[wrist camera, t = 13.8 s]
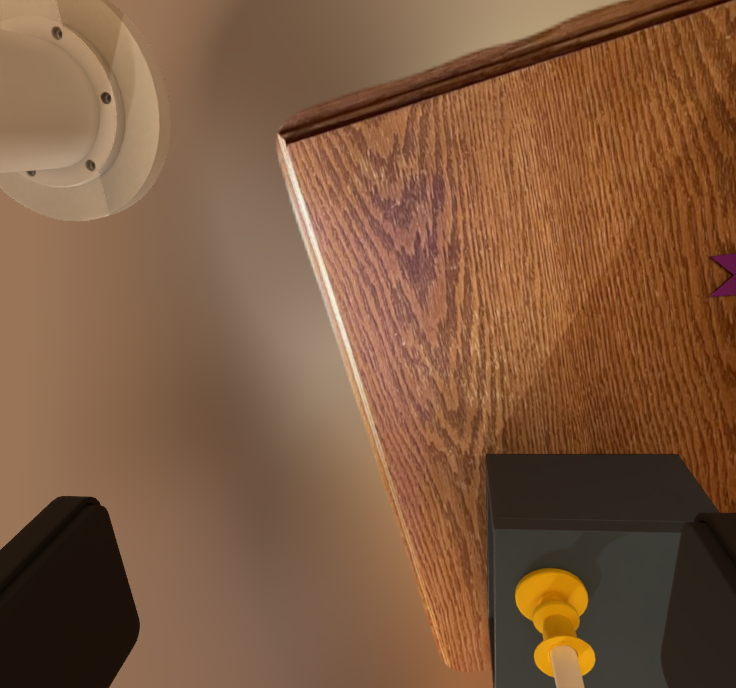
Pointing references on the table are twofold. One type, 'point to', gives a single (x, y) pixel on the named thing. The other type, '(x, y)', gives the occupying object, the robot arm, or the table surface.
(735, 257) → the book
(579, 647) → the candle
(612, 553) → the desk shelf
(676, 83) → the table surface
